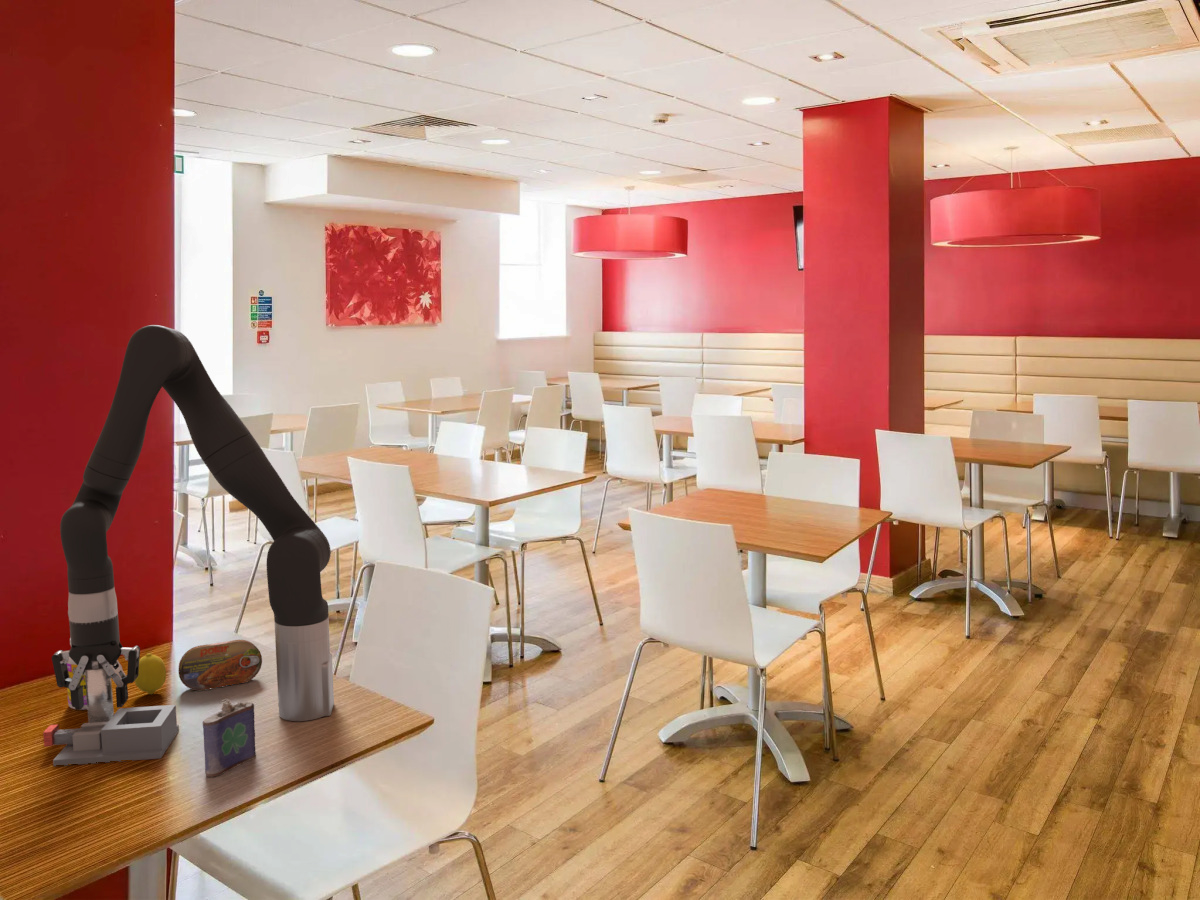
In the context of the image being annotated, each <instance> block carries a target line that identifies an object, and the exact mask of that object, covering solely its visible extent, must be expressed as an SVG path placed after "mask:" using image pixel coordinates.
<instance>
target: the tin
mask: <svg viewBox="0 0 1200 900" xmlns="http://www.w3.org/2000/svg"><path fill="white" fill-rule="evenodd" d="M262 664H263V656H262V652H261V651H260V649H259V648H258V647H257V646H256V645H255V644H254V643H252V642H251V641H249V640H246V639H233V640H228V641H227V640H226V641H221V642H215V643H209V644H202V645H196V646H193V647H192V648H190V649H188V650H187V651H186V652H185V653H184V654H183V655H182V656H181V659H180V661H179V663H178V677H179V680H180V682H181V684H183V685H184V686H185V687H187V688H188V689H190V690H193V691H197V692H198V691H199V690H201V691H206V690H205V689H208V690H211V689H210V688H213V689H217V688H216V687H219V688H223V687H222V686H225V687H227V686H226V685H231V686H233V685H232V684H237V685H240V684H239V683H242V684H245V682H246V683H248V682H250V681H251V680H253V679H254V678H255V677H256V676H257V675H258V674H259V672H260V670H261V668H262Z"/></svg>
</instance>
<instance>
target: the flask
mask: <svg viewBox="0 0 1200 900" xmlns="http://www.w3.org/2000/svg"><path fill="white" fill-rule="evenodd" d="M219 704H222V707H221V708H220V711H218V712H216V713H214V714H212V715H210V716H208V717H206V718H205V719H203V720H202V730H203V733H202V734H203V750H204V767H205V768H204V774H205V776H206V777H207V778H215V777H219V776H221V775H224V773H227V772H229V771H232V770H234V769H235V768H237V767H238V766H239V765H243V764H244V763H246V762H249V761H250V760H254V759H256V758H257V754H256V753H257V752H256V731H255V730H256V728H255V715H256V714H255V704H254V703H253V702H249V701H244V702H242V701H240V702H237V703H235V704H232V702H231V700H230V699H228V698H224V699H222V700H221V701H219Z"/></svg>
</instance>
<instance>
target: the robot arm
mask: <svg viewBox="0 0 1200 900" xmlns="http://www.w3.org/2000/svg"><path fill="white" fill-rule="evenodd" d="M162 388H163V390H165V392H166V393H167V394H168V396H169V397H170V398H171V399H172V401H173V402H174V403H175V405H176V406H177V407H178V410H179V412H180V413H181V415H182V417H183V419H184V421H185V424H186V427H187V430H188V433H189V435H190V438H191V441H192V444H193V447H194V448H195V449H196V451H197V455H199V457H200V458H201V460H202V462H203V463H204V464H205V466H206V467H207V469H208V470H209V472H210V473H211V475H212V476H213V478H214V479H215V481H216V482H217V483H218V484H219V486H221V487H222V489H224V490H225V491H226V492H227V493H228V494H229V495H230V496H231V497H233V498H234V499H235V500H236V501H238V502H239V503H240V504H242V505H243V506H245V508H247V509H248V510H249V511H250V512H251V513H253V514H254V515H255V516H256V518H258V520H259V521H260V522H261V524H262V525H263V526H264V528H265V529H266V531H267V532H268V534H269V535H270V537H271V539H272V540H273V542H272V543H271V544H270V546H269V548H268V551H267V554H266V577H267V591H268V599H269V605H270V608H271V610H272V612H273V618H274V619H273V620H274V635H275V636H274V641H275V660H276V680H277V684H276V685H277V698H278V699H277V701H278V702H277V703H278V704H277V706H278V715H279V717H280V718H281V719H283V720H285V721H292V722H305V721H312V720H316V719H319V718H322V717H329V716H331V715H332V711H333V708H334V704H335V698H334V697H335V695H334V672H333V671H334V669H333V668H334V667H333V654H332V653H331V646H330V645H331V643H330V638H331V637H330V621H329V620H330V619H329V618H330V617H329V616H330V615H329V605H328V603H329V602H328V601H327V600H326V599H325V598H324V597H323V594H322V593H323V592H322V581H321V572H322V571H323V570H324V569H326V567H327V566H328V564H329V562H330V559H331V555H332V553H331V552H332V550H331V545H330V543H329V540H328V538H327V537H326V535H325V534H324V533H323V531H322V530H321V528H320V527H319V526H318V525H317V524H316V523H315V522H314V520H313V519H312V518H311V517H310V516H309V515H308V513H307V512H306V511H305V509H303V508H302V506H301V505H300V504H299V502H297V501H296V498H294V496H293V495H292V494H291V492H290V491H289V489H288V487H287V486H286V484H285V482H284V481H283V479H282V477H280V474H279V473H278V472H277V470H276V469H275V467H274V466H273V465H272V463H271V462H270V460H269V459H268V457H267V455H266V453H265V452H264V450H263V449H262V448H261V446H260V444H259V443H258V442H257V440H256V439H255V437H254V436H253V435H252V433H251V431H250V430H249V428H248V427H247V426H246V425H245V424H244V422H243V421H242V419H241V418H240V416H239V415H238V414H237V413H236V411H235V410H234V409H233V407H232V406H231V405H230V404H229V403H228V401H227V400H226V399H225V397H223V395H222V394H221V392H219V390H218V388H217V387H216V386H215V384H214V382H213V380H212V379H211V377H210V375H209V374H208V371H207V370H206V368H205V366H204V365H203V362H202V360H201V358H200V357H199V356H198V353H197V351H196V350H195V348H194V345H193V344H192V341H190V340H189V338H187V336H186V335H185V334H184V333H182V332H181V331H179V330H177V329H174V328H171V327H167V326H163V325H158V324H151V325H146V326H143V327H141V328H138V329H137V330H135V332H134V333H133V334H132V335H131V337H130V338H129V341H128V343H127V346H126V349H125V354H124V358H123V361H122V365H121V371H120V375H119V379H118V382H117V386H116V390H115V393H114V396H113V399H112V402H111V405H110V409H109V411H108V414H107V416H106V419H105V423H104V425H103V427H102V430H101V431H100V434H99V437H98V438H97V441H96V443H95V446H94V448H93V449H92V452H91V453H90V457H89V459H88V461H87V464H86V466H85V468H84V472H83V476H82V480H83V481H82V484H81V486H80V488H79V490H78V492H77V494H76V497H75V498H74V500H73V503H72V504H71V506H70V507H69V508H68V509H67V510H66V511H65V512H64V513H63V515H62V516H61V520H60V525H59V526H60V527H59V531H60V540H61V545H62V550H63V555H64V559H65V561H66V567H67V568H66V569H67V571H66V572H67V588H68V600H67V607H68V610H67V616H68V622H69V635H70V638H71V645H70V649H69V650H63V649H62V650H61V649H60V650H59V649H58V650H57V651H56V652H54V654H52V656H51V661H52V666H53V671H54V678H55V681H56V684H57V687H58V688H66V689H67V688H69V689H70V693H71V705H72V706H73V707H75V709H74V710H75V711H81V709H82V708H83V706H84V698H83V686H81V685H80V684H81V682H82V680H83V678H84V675H85V669H92V661H96V660H98V669H102V668H104V670H105V671H106V673H107V674H108V676H109V677H110V678H111V680H112V681H113V682H114V684H115V685H116V687H115V700H116V708H123V707H124V705H125V704H126V703H127V702H128V699H129V690H128V684H132V683H135V679H136V678H137V677H138V673H139V659H140V653H141V647H140V646H139V645H134V646H133V647H123V645H122V643H121V641H120V626H119V625H120V624H119V613H118V612H119V610H118V599H117V593H116V590H115V589H116V588H115V578H114V577H115V576H114V565H113V561H112V559H111V557H110V556H109V555H108V554H109V553H108V541H107V532H108V531H109V529H110V528H111V526H112V523H113V522H114V519H115V516H116V513H117V511H118V508H119V506H120V501H121V499H122V495H123V493H124V490H125V488H126V487H127V485H128V483H129V481H130V479H131V477H132V475H133V472H134V470H135V468H136V466H137V463H138V460H139V459H140V455H141V452H142V449H143V446H144V440H145V436H146V430H147V426H148V420H149V417H150V414H151V410H152V409H153V408H152V407H153V405H154V402H155V400H156V398H157V397H158V395H159V392H160V391H161V390H162ZM70 638H69V639H70ZM121 655H122V656H124V659H125V661H127V673H125V671H124V670H123V666H122V664H121V663H120V662H119V658H120V656H121ZM69 657H70V658H71V659H72V660H73V661H74V662H75V663H76V664H77V665H78V666H77V668H76V670H75V673H74V675H73V678H70V677H69V672H68V668H67V662H68V661H69Z"/></svg>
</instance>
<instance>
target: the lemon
mask: <svg viewBox="0 0 1200 900" xmlns="http://www.w3.org/2000/svg"><path fill="white" fill-rule="evenodd" d="M166 679H167V669H166V665H165V662H164V660H163V659H162V658H161V657H160V656H158V655H156V654H152V653H150V652H148V653H146V654H145V655H143V656H141V658H139V673H138V677H137V678H136V679H135V681H134V683H135V686H136V687H137V688H138V689H139V690H140V691H142V692H145V693H147V694H149V695H154V694H155V692H156V691H158V690H160V689H161V688H162V686H163V685H165V682H166Z"/></svg>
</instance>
